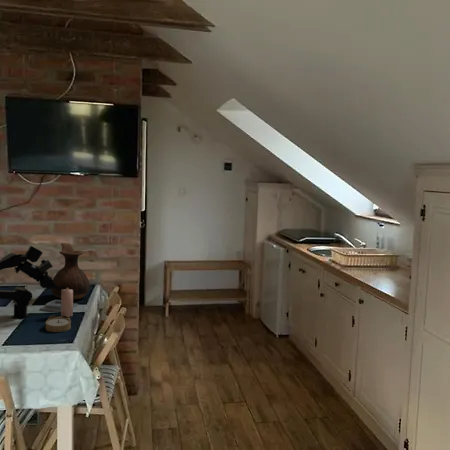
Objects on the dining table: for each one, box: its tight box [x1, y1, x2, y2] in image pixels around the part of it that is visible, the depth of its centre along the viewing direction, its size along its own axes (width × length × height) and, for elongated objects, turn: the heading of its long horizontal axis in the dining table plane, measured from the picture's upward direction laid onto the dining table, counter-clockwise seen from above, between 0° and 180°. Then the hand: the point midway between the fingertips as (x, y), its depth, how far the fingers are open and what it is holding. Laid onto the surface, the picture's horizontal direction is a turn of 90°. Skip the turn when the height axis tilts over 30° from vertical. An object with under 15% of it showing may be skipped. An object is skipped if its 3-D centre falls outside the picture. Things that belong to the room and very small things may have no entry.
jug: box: [50, 242, 91, 301], centre depth 287 cm, size 22×22×30 cm
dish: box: [39, 299, 79, 313], centre depth 267 cm, size 14×14×3 cm
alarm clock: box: [45, 315, 72, 333], centre depth 236 cm, size 11×5×15 cm
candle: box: [60, 288, 74, 318], centre depth 253 cm, size 6×6×14 cm
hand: (56, 286), depth 256 cm, fingers open, 9 cm apart
